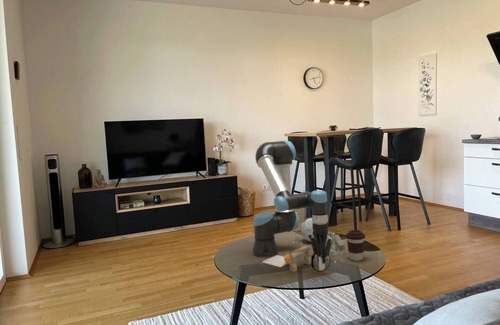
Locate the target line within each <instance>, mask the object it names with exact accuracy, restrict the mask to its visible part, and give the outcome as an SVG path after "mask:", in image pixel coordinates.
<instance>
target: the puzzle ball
mask: <svg viewBox="0 0 500 325" xmlns="http://www.w3.org/2000/svg"><path fill="white" fill-rule="evenodd" d="M312 223H313V222H312V217H310V218H309V217H308V218H307V219H305V220H304V221H303V222H302V224H301V226H300V234H301V236H302V238H303V239H304V240H306V241H308V242H310V243H311V240H310V238H309V235H311V234H313V228H312ZM315 240H316V239H315Z"/></svg>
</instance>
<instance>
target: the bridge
mask: <svg viewBox="0 0 500 325" xmlns="http://www.w3.org/2000/svg"><path fill="white" fill-rule="evenodd" d="M311 247H312V246H310V245H304V246H302V247H300V248H298V249H295V250H293V251H291V252H289V253H288V254H289V261H290V265H289V271H290V272H292V273H296V272H298V264H297V263H298V262H297V256H299V255H301V254H303V259H304V260H303V261H304V265H308V266H309V265H312V252H311V251H312V249H311Z"/></svg>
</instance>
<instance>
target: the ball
mask: <svg viewBox="0 0 500 325" xmlns="http://www.w3.org/2000/svg"><path fill="white" fill-rule="evenodd" d="M283 257H284V261H285V263H286V265H289V266H290V261H289V253H287V254H286V255H284V256H283Z"/></svg>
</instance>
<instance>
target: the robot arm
mask: <svg viewBox="0 0 500 325" xmlns="http://www.w3.org/2000/svg"><path fill="white" fill-rule="evenodd" d="M296 155H297V151H296V148H295V145H294V144H293V142H291V141H289V140H278V141H270V142H269V141H267V142H264V143H262V144H260V145H259V147H258V148H257V149H256V151H255V163H256V164H257V166H258V168H261V171H262V172H263V174H264V176H265V178H266V179H265V180H266V181H267V182H268V185H269V187H270V188H271V191H272V193H273V195H274V199H273V205H274V208H275V209H274V213H273V212H272V211H263V212H260V213H256V214H255V215H254V216H253V229H254V233H253V234H254V242H253V247H252V254H254V255H253V256H255V255H256V256H255V257H257V258H258V257H260V258H269V257H270V258H271V257H274V256H276V255H279V247H278V244H277V242H276V240H275V239H276V238H275V235H277V234H283V233H290V232H293V231H296V230H297V228H298V227H299V224H300V223H299V222H300V219H299V218H300V217H299V213H298V212H297V211H295V210H300V209H306V208H307V209H308V208H309V209H311V218H312V222H313V223H312V228H313V234H311V235H309V238H310V240H311V242H310V243H311V247H312V252H313V255H316V257H317V258H316V259H317V263H318V270H319V271H323V270H325V269H326V266H325V265H326V263H327V260H326V259H327V258H326V257H328V256H330V255H329V253H330V248H331V242H332V241H333V238H330V237H329V234H328V232H329V223H328V221H329V219H328V196H327V192H326V191H325V190H313V191H311V192H310V191H301V192H300V193H295V194H294V193H293V194H292V188H291V187H292V186H291V185H292V184H291V166H292V165H293V161H295V160H296V157H297V156H296ZM315 239H316V240H315ZM326 239H327V244H326Z"/></svg>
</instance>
